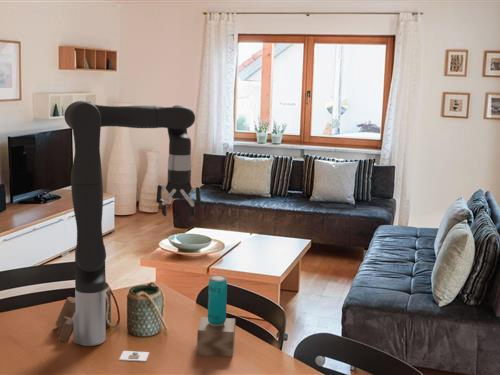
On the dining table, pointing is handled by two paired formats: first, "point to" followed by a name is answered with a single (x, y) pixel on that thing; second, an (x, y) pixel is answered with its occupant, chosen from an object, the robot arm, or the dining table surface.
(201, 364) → the dining table surface
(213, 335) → the walnut base brick
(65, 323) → the wooden block set
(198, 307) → the dining table surface
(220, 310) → the beverage can
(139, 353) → the tower plan card
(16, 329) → the dining table surface
